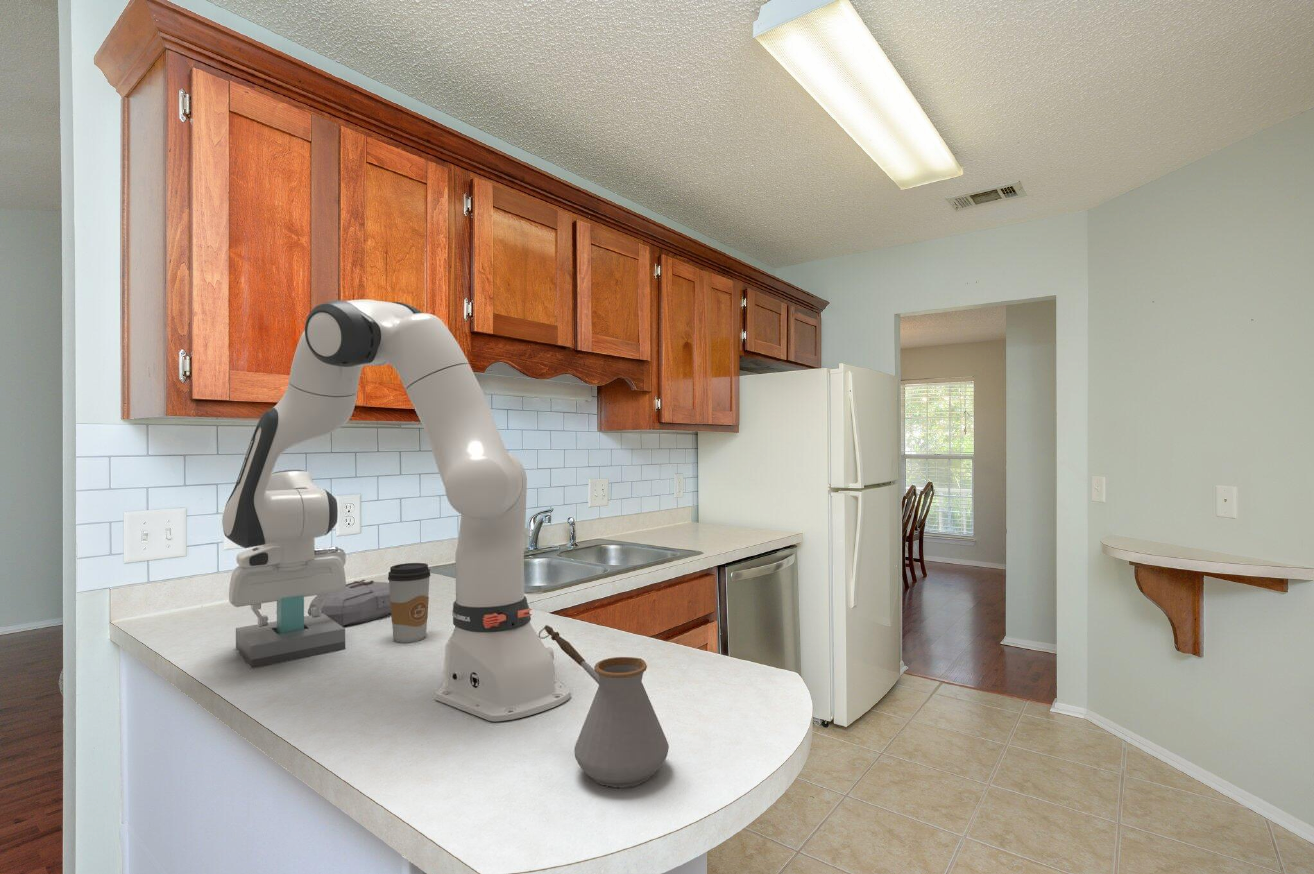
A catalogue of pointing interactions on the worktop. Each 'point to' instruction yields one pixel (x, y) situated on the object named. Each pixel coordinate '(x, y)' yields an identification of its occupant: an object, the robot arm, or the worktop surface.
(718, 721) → the worktop surface
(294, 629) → the plug
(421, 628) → the coffee cup
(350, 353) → the robot arm
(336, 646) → the socket
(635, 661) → the coffee pot
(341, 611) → the small grey backpack
